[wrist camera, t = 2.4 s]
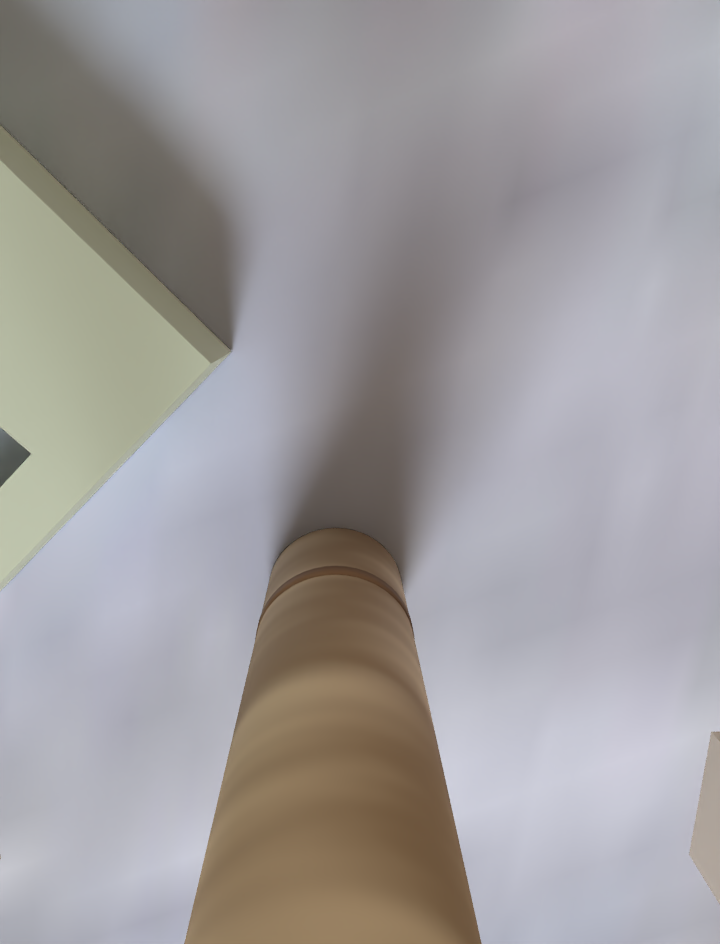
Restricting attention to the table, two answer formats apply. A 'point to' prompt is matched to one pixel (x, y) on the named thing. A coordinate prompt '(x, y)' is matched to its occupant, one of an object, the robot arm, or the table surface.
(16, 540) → the board
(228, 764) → the peg
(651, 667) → the table surface
